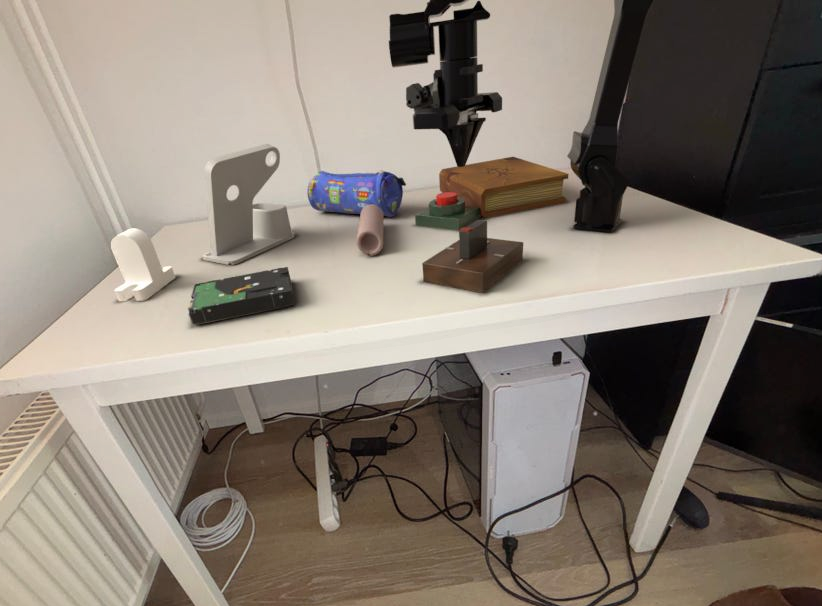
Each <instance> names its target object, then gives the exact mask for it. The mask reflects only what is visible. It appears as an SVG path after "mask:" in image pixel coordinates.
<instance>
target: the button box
mask: <svg viewBox="0 0 822 606" xmlns="http://www.w3.org/2000/svg"><path fill="white" fill-rule="evenodd" d="M480 218H481V216H480V207H470V206H465V199H463V198H460V197H457V203H455V204H451V205H437V201H436V198H435V199H433V200H431V201H429V202H428V207H427V208H425V209H424V210H422V211H420V212H418V213H416V214H414V219H415V221H414V222H415V226H417V227H426V228H433V229H442V230H451V231H458V232H459V231H460V230H461V229H462V228H463V227H467V226H468V225H470V224H472V223H473V222H475V221H477V220H480Z"/></svg>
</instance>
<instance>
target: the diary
mask: <svg viewBox="0 0 822 606" xmlns="http://www.w3.org/2000/svg"><path fill="white" fill-rule="evenodd" d="M438 179H439V192H440V193H445V192H454V193H457V197H460V198H463V199H465V206H470V207H480V217H482V218H483V219H488V218H492V217H493V218H494V217H498V216H503V215H508V214H513V213H519V212H523V211H529V210H533V209H539V208H544V207H549V206H554V205H559V204H563V203H564V204H565V203H567V197H566V196H563V190H564V180H567V179H568V180H569V173H567V172H564V171H561V170H557V169H554V168H550V167H549V166H545V165H541V164H538V163H535V162H533V161H528V160H526V159H522V158H519V157H516V156H508V157H502V158H497V159H492V160H491V159H490V160H486V161H480V162H475V163H469V164H466V165H465V166H463V167H458V166H457V165H456V166H453V167H446V168H441V170H440V172H439V173H438Z"/></svg>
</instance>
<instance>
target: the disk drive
mask: <svg viewBox="0 0 822 606" xmlns="http://www.w3.org/2000/svg"><path fill="white" fill-rule="evenodd" d="M190 298H191V299H190V301H189V306H188V307H187V310H188V317H189V319H190V321H191V324H192V325H201V324H208V323H213V322H217V321H223V320H228V319H232V318H237V317H242V316H246V315H247V316H248V315H251V314H257V313H262V312H268V311H272V310H277V309H282V308H286V307H289V306H291V305H292V306H293V305H295V297H294V292H293V286H292V280H291V276H290V271H289V267H288V266H284V267H278V268H273V269H268V270H262V271H256V272H251V273H247V274H242V275H235V276H230V277H224V278H219V279H214V280H208V281H205V282H204V281H203V282H199V283H195V284H194V285H193V289H192V292H191V295H190Z"/></svg>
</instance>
